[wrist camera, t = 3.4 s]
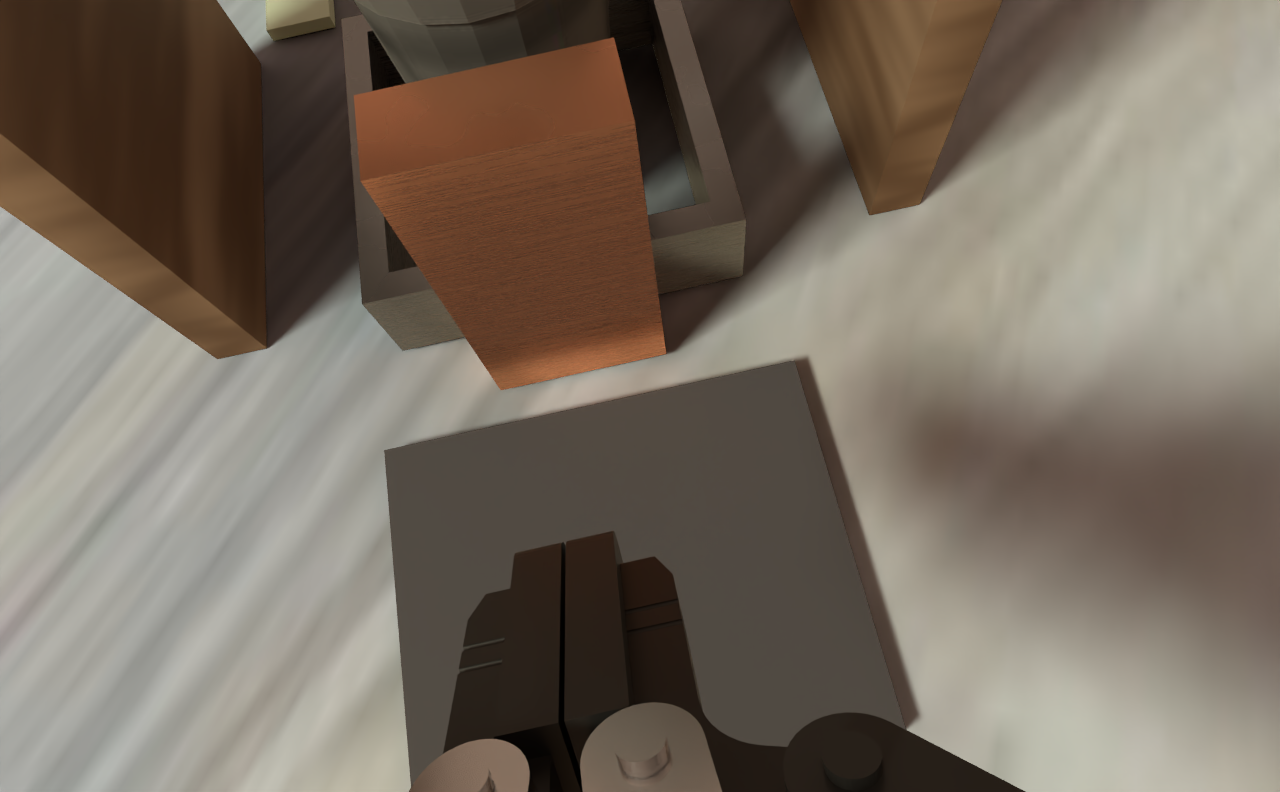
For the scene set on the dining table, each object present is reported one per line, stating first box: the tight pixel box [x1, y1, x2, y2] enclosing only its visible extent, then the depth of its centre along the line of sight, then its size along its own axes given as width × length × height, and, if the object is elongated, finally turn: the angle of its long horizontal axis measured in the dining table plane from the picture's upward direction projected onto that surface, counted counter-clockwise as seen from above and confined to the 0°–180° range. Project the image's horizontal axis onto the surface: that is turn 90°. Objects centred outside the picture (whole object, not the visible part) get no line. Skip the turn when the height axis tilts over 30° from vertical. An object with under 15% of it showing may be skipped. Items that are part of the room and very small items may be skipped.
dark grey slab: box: [384, 361, 906, 787], centre depth 21 cm, size 12×10×1 cm
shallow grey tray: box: [341, 0, 746, 390], centre depth 21 cm, size 11×13×10 cm
